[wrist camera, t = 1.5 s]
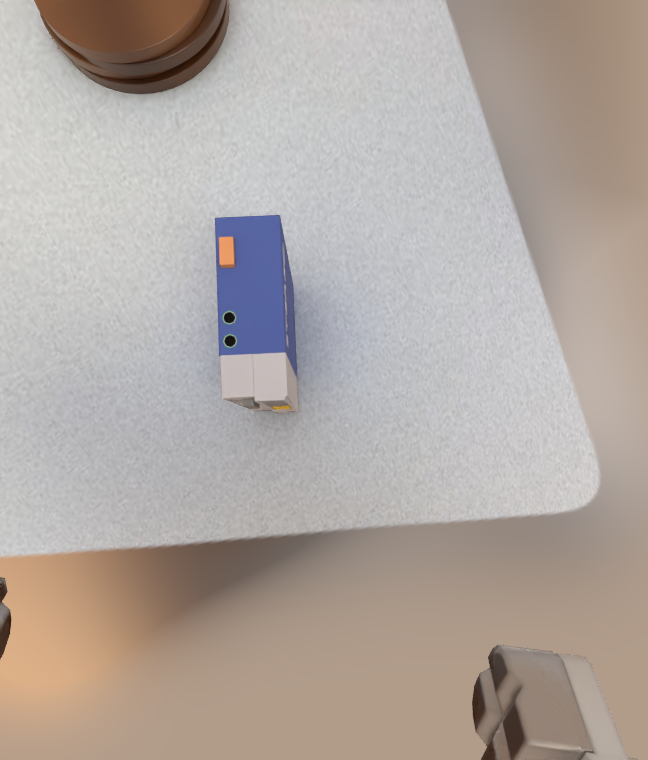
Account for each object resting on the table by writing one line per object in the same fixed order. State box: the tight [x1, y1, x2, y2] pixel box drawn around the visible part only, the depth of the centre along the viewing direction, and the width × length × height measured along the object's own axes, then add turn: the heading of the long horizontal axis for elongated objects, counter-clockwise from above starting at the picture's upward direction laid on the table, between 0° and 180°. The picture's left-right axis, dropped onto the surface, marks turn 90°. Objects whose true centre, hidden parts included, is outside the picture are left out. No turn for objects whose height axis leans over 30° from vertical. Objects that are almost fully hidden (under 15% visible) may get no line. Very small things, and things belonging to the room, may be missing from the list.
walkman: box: [215, 215, 299, 413], centre depth 30 cm, size 8×3×12 cm, turn 3°
